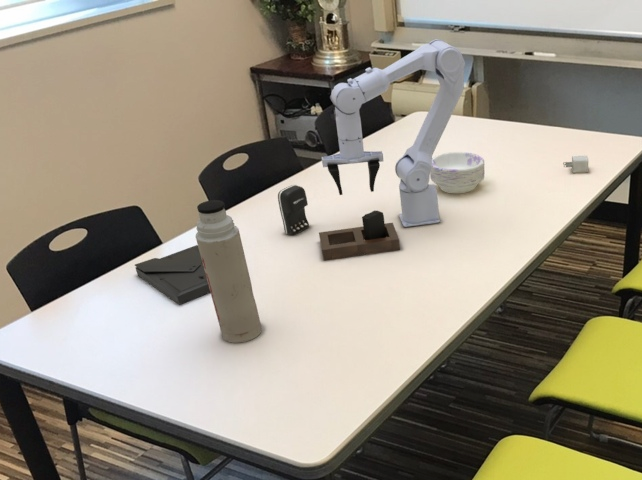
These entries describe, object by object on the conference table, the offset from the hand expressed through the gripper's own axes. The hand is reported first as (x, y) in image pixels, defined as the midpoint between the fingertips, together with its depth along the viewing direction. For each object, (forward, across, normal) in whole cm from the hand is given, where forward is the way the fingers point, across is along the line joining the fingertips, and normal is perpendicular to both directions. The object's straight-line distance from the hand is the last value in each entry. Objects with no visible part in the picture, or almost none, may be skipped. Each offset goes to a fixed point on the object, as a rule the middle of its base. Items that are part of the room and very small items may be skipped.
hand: (356, 191), depth 196 cm
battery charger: (+11, -15, +5) cm, 19 cm away
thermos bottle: (+11, -29, -42) cm, 52 cm away
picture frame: (+12, -41, -13) cm, 45 cm away
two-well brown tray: (+10, -1, -9) cm, 14 cm away
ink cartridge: (+11, +3, -9) cm, 14 cm away
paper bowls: (+10, +30, +20) cm, 37 cm away
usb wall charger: (+9, +65, +21) cm, 69 cm away
